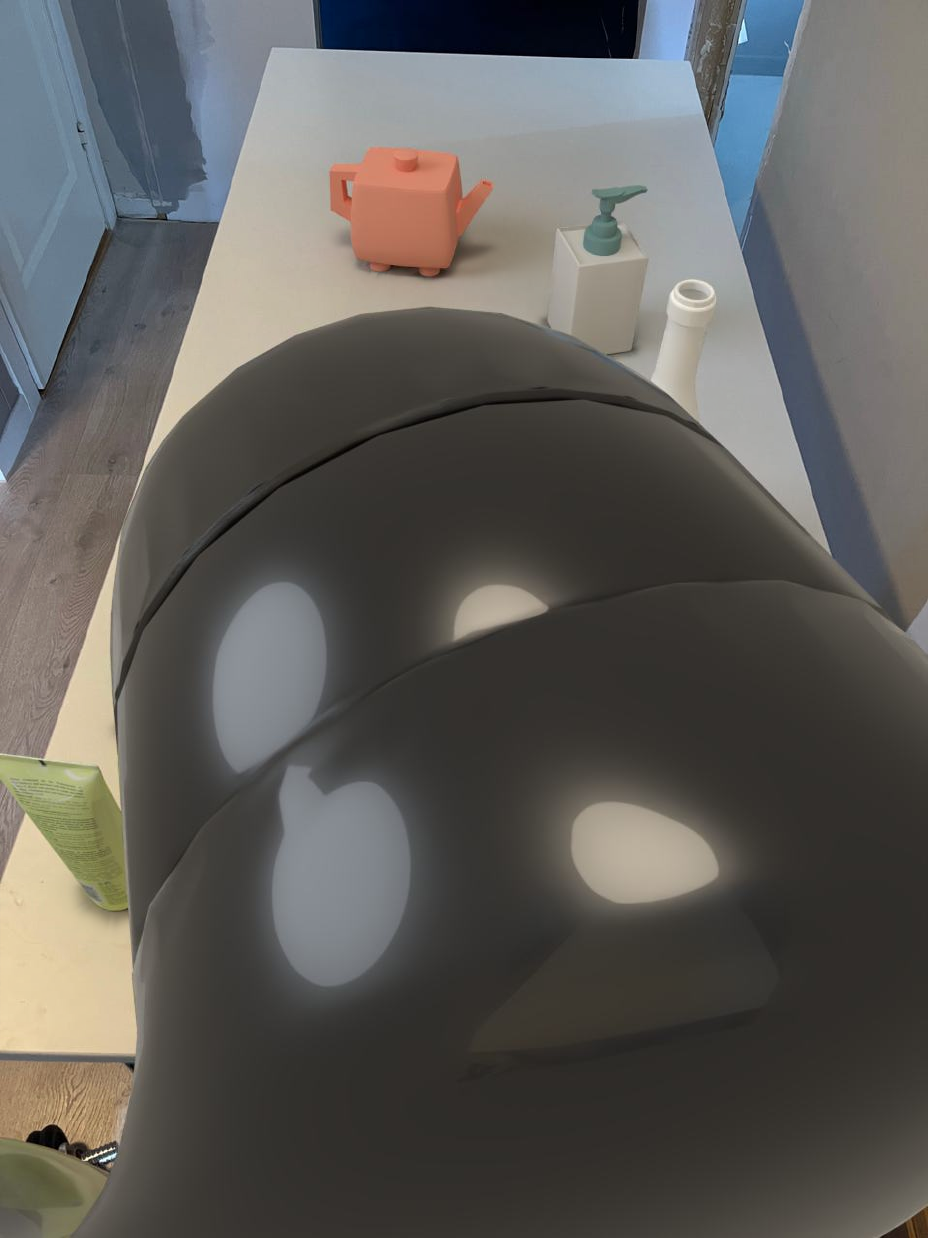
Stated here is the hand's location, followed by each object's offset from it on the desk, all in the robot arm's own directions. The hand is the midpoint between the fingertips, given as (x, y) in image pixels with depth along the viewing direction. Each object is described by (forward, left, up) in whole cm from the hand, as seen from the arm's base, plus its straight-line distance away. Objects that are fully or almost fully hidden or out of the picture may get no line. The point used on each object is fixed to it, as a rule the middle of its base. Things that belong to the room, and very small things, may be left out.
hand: (456, 918), depth 58 cm
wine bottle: (+46, +2, -12) cm, 48 cm away
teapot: (+86, +48, -12) cm, 100 cm away
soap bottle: (+79, +19, -12) cm, 83 cm away
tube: (-5, +27, -12) cm, 30 cm away
